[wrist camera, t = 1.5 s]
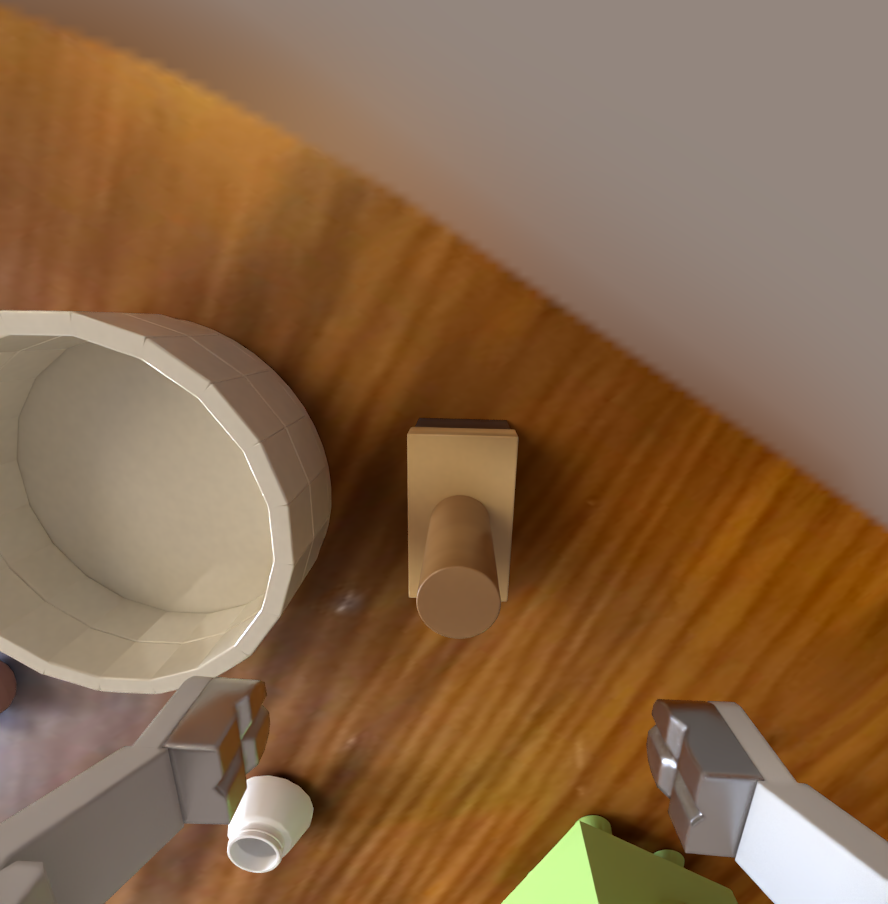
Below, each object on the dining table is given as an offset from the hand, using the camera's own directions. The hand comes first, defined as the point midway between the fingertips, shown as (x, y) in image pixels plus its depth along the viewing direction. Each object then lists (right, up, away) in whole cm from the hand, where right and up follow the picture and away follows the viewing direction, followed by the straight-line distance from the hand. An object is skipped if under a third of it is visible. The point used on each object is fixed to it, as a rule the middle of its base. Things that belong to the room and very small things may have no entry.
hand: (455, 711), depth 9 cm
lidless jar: (-11, -16, +18) cm, 26 cm away
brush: (+1, +4, +11) cm, 12 cm away
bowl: (-13, +4, +12) cm, 18 cm away
